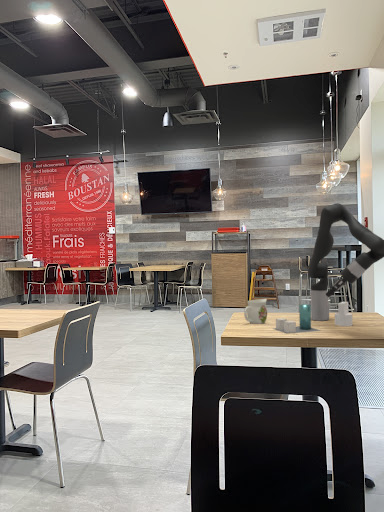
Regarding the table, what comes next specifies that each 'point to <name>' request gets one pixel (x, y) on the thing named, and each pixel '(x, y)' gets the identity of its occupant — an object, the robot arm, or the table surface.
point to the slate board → (299, 330)
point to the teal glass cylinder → (305, 316)
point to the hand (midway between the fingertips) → (328, 295)
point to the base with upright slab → (343, 315)
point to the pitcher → (256, 311)
